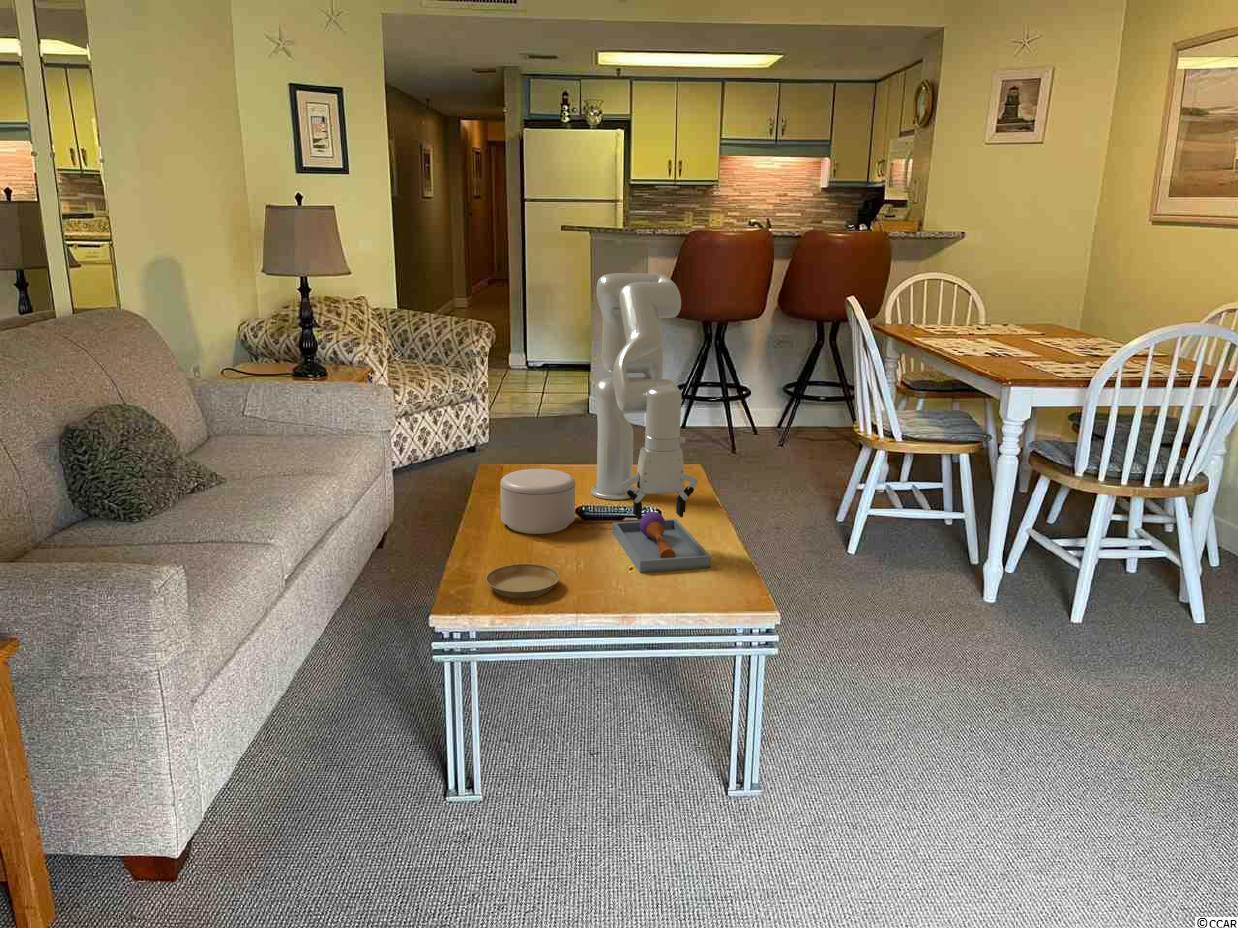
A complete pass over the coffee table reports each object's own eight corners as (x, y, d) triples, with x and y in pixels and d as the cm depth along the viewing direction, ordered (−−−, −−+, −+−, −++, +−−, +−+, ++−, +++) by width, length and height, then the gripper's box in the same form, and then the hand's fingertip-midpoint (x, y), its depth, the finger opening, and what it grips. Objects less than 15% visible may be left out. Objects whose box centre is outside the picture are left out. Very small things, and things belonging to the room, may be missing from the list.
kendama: (652, 546, 197) (635, 510, 216) (656, 571, 199) (639, 533, 218) (679, 540, 198) (660, 505, 216) (683, 565, 200) (664, 528, 219)
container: (490, 517, 229) (489, 471, 226) (557, 508, 237) (557, 464, 234) (516, 540, 213) (516, 491, 210) (587, 529, 221) (587, 482, 218)
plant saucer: (508, 609, 176) (508, 597, 176) (472, 584, 188) (472, 572, 187) (573, 592, 185) (573, 580, 184) (535, 569, 196) (535, 558, 196)
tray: (612, 533, 219) (612, 522, 218) (675, 529, 223) (676, 518, 222) (639, 572, 195) (640, 561, 194) (710, 567, 199) (710, 556, 198)
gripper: (694, 437, 208) (690, 508, 213) (619, 439, 204) (617, 512, 209) (705, 446, 201) (700, 520, 206) (627, 449, 197) (625, 524, 202)
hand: (659, 516), depth 208 cm, fingers open, 9 cm apart
